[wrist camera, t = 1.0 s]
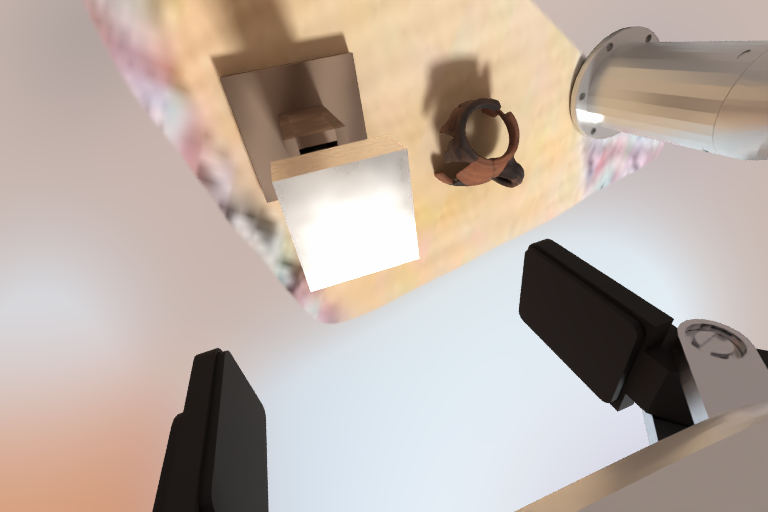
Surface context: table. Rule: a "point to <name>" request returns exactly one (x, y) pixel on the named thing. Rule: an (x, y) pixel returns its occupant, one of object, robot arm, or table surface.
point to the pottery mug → (478, 167)
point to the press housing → (295, 110)
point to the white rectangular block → (348, 208)
